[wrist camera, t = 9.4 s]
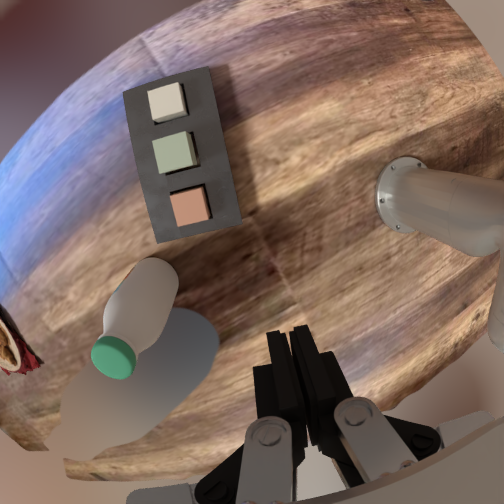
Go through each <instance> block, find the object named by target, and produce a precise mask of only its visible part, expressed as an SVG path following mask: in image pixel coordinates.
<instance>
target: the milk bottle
mask: <svg viewBox="0 0 504 504" xmlns="http://www.w3.org/2000/svg"><path fill="white" fill-rule="evenodd" d="M178 286H179V280H178V276H177V273H176V272H175V270H174V268H173V267H172V266H171V265H170V264H169V263H167V262H166V261H164V260H162V259H159V258H153V257H152V258H145V259H143V260H141V261H139V262H138V263H137V264H136V265H135V266H134V267H133V269H132V270H131V271H130V272H129V273H128V275H127V276H126V277H125V278H124V280H123V281H122V282H121V283H120V285H119V286H118V287H117V289H116V290H115V291H114V293H113V294H112V296H111V297H110V299H109V301H108V303H107V305H106V307H105V311H104V317H103V324H104V332H103V334H102V335H101V336H100V337H99V338H98V340H97V341H96V343H95V344H94V346H93V348H92V351H91V358H92V361H93V363H94V365H95V366H96V367H97V368H98V369H99V370H100V371H101V372H102V373H103V374H105V375H107V376H109V377H111V378H115V379H125V378H127V377H129V376H130V375H131V374H132V373H133V371H134V368H135V366H136V363H137V361H138V354H139V353H140V352H141V351H143V350H145V349H146V348H148V347H150V346H151V345H152V344H153V343H154V342H155V341H156V340H157V339H158V337H159V336H160V334H161V333H162V331H163V328H164V326H165V324H166V321H167V318H168V316H169V313H170V310H171V308H172V305H173V302H174V299H175V296H176V294H177V290H178Z"/></svg>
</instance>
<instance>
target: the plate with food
mask: <svg viewBox="0 0 504 504" xmlns="http://www.w3.org/2000/svg"><path fill="white" fill-rule="evenodd" d="M0 311H1V312H2V310H1V309H0ZM2 313H3V312H2ZM3 314H4V313H3ZM8 322H9V321H8ZM9 324H10V323H9ZM9 326H10V327H11V324H10V325H9ZM11 329H12V331H13V333H12V332H11V331H10V330H9V329H8V328H7V326H6V325H5V324H4V322H3V321H2V320H1V317H0V367H1V368H2V369H3V370H4V371H5V372H6V374H7V375H8V376H9V375H10V373H9V372H8V371H10V372H14V373H15V372H16V373H17V372H19V373H22V374H25V375H26V372H27V371H33V369H35V368H37V367H38V368H39V367H40V365H39V364H38V361H37V360H36V359H35V356H34V355H31V354H30V352H29V351H28V350H27V349H26V344H25V342H23V341H22V340H21V339H20V338H19V336H18V335H17V333H16V332H15V331H14V330H13V328H12V327H11ZM26 365H28V367H27V366H26ZM24 372H25V373H24Z"/></svg>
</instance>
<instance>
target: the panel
mask: <svg viewBox="0 0 504 504" xmlns="http://www.w3.org/2000/svg"><path fill="white" fill-rule="evenodd" d="M177 82H178V83H179V84H180V86H181V87H182V89H185V94H186V99H187V103H188V108H189V113H190V116H186V117H183V118H179V119H175V120H172V121H169V122H165V123H162V124H159V123H158V122H156V121H154V120H153V119H152V114H151V109H150V103H149V98H148V92H147V91H150V90H154V89H157V88H160V87H163V86H166V85H170V84H173V83H177ZM123 98H124V104H125V110H126V116H127V122H128V127H129V132H130V137H131V142H132V147H133V152H134V156H135V161H136V165H137V170H138V174H139V178H140V182H141V186H142V190H143V194H144V198H145V202H146V206H147V209H148V213H149V217H150V220H151V224H152V227H153V231H154V234H155V238H156V241H157V244H159V243H163V242H167V241H171V240H175V239H179V238H184V237H188V236H192V235H196V234H201V233H205V232H209V231H214V230H218V229H222V228H227V227H231V226H236V225H240V224H243V223H242V218H241V214H240V209H239V205H238V200H237V196H236V191H235V186H234V182H233V177H232V173H231V168H230V164H229V159H228V154H227V150H226V145H225V141H224V136H223V131H222V127H221V122H220V118H219V113H218V108H217V104H216V99H215V94H214V90H213V85H212V81H211V76H210V71H209V67H208V66H207V67H203V68H199V69H194V70H190V71H187V72H183V73H179V74H175V75H172V76H169V77H165V78H162V79H159V80H155V81H152V82H149V83H146V84H143V85H141V86H138V87H135V88H132V89H129V90H127V91H124V92H123ZM184 131H186V132H187V133H189V134H190V135H191V134H194V137H195V141H196V146H197V150H198V155H199V159H200V164H201V167H197V168H193V169H189V170H186V171H182V172H178V173H174V174H171V175H170V173H169V172H166V173H161V174H159V170H158V166H157V161H156V157H155V152H154V148H153V143H152V141H153V140H157V139H160V138H163V137H167V136H170V135H174V134H177V133H181V132H184ZM203 183H205V186H206V190H207V194H208V198H209V203H210V207H211V211H212V215H211V216H210V217H209V219H208V220H204V221H200V222H196V223H192V224H188V225H183V226H179V227H178V226H177V222H176V218H175V215H174V211H173V207H172V203H171V199H170V196H171V195H173V194H174V191H175V190H179V189H183V188H187V187H191V186H195V185H199V184H203Z"/></svg>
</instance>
